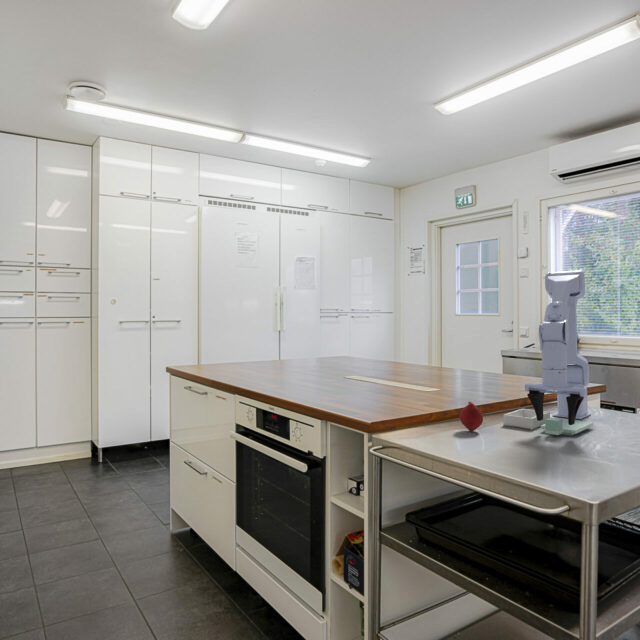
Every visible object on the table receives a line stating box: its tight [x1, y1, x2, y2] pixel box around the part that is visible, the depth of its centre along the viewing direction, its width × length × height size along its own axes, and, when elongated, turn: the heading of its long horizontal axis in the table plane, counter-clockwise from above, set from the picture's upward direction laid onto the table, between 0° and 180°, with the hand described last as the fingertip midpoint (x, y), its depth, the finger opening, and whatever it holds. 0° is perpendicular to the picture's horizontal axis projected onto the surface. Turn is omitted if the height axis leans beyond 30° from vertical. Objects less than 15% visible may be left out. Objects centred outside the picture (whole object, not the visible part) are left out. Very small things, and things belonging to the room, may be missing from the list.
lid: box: [540, 417, 594, 436], centre depth 128 cm, size 17×9×4 cm, turn 133°
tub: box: [502, 408, 551, 431], centre depth 138 cm, size 12×8×3 cm, turn 134°
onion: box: [459, 400, 484, 432], centre depth 130 cm, size 6×6×8 cm
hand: (555, 422), depth 124 cm, fingers open, 7 cm apart
